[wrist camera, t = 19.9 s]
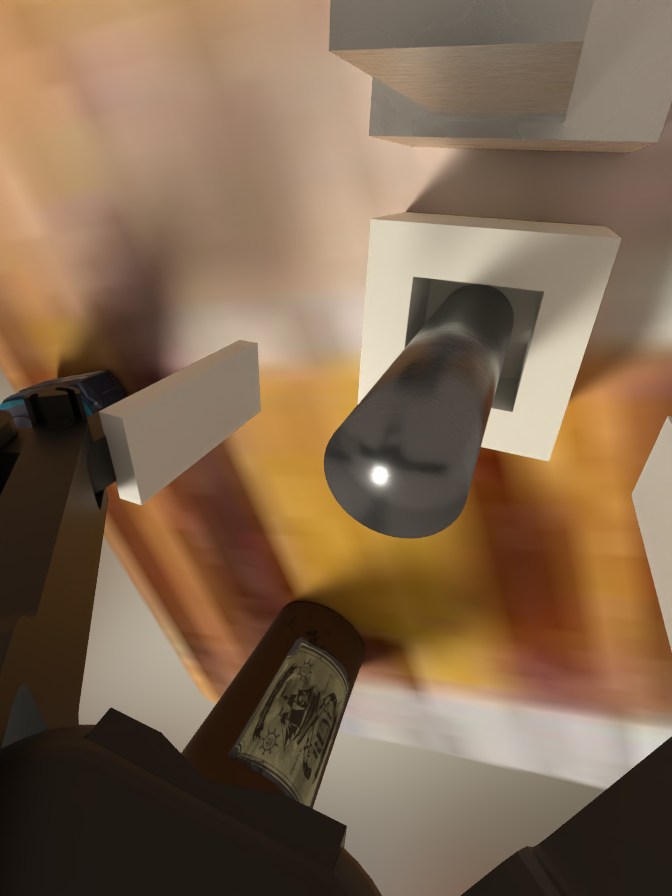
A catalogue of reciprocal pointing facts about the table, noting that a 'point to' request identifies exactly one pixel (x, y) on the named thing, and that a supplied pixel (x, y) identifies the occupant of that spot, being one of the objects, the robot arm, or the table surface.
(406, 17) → the grey post stand
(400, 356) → the smooth metal cylinder
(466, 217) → the cream square block
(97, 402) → the impact wrench
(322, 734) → the olive oil
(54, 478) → the robot arm
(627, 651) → the table surface
